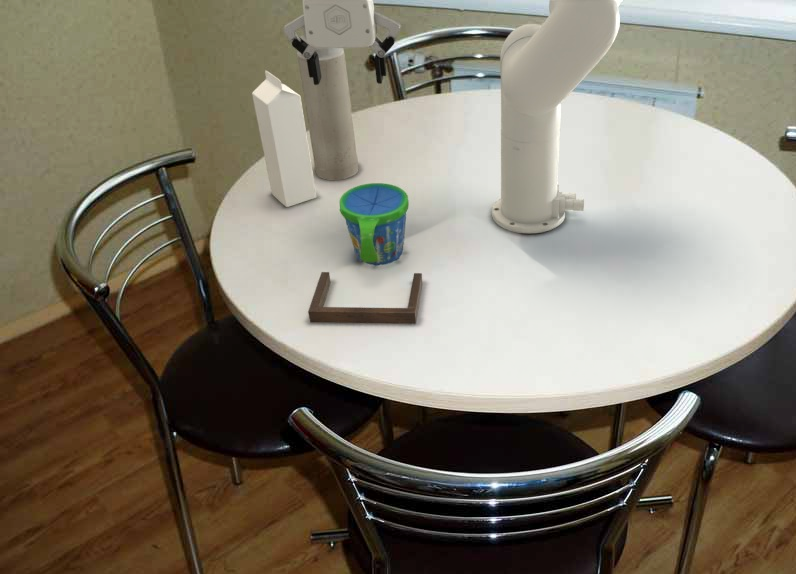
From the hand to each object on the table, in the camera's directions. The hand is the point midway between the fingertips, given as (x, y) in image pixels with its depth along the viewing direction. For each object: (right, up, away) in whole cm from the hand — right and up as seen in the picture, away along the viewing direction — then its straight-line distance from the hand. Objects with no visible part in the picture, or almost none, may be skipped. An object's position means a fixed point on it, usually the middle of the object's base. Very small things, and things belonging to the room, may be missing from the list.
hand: (349, 81), depth 129 cm
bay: (+4, -35, -4) cm, 35 cm away
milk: (-14, -14, +21) cm, 29 cm away
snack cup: (+4, -26, +6) cm, 27 cm away
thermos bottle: (-7, -7, +28) cm, 30 cm away
